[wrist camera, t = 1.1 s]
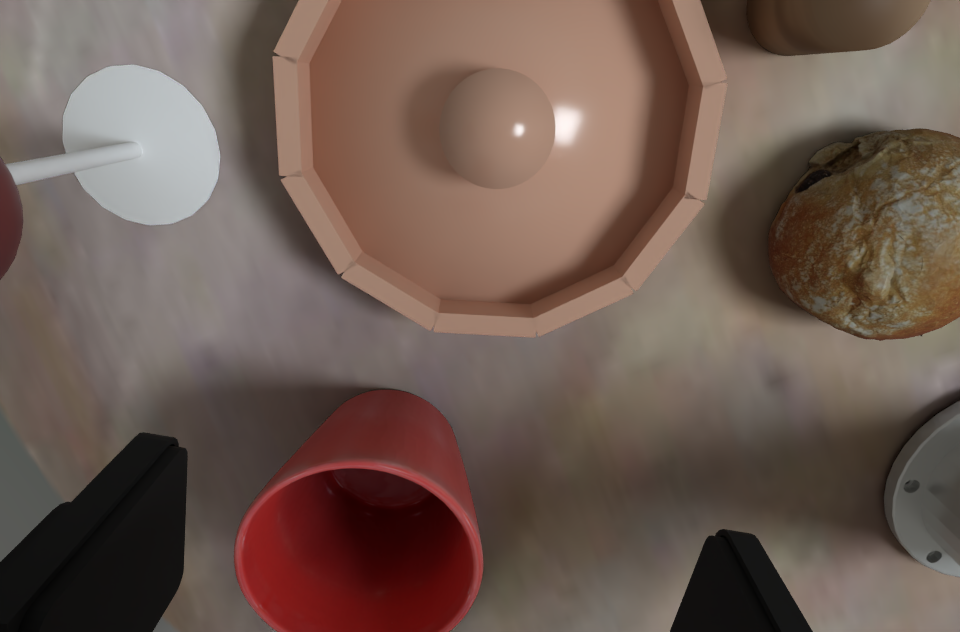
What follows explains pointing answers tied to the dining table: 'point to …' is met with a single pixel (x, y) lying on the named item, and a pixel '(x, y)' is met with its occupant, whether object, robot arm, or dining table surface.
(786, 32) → the bead
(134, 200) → the wineglass
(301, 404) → the dining table surface
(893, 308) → the bread roll
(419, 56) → the groove dish
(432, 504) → the flower pot
